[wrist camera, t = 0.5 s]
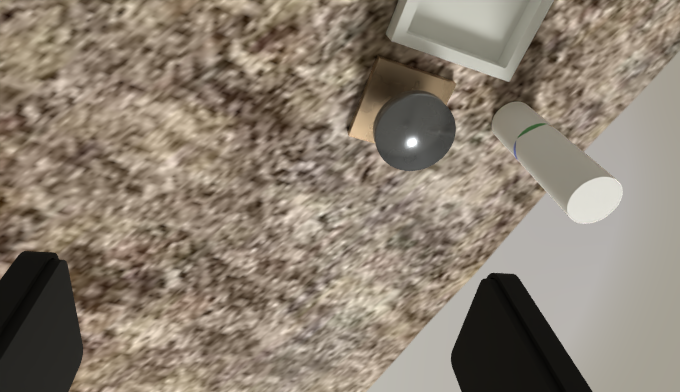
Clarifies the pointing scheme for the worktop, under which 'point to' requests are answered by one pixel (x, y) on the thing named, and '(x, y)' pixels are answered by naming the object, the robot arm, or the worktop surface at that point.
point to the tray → (470, 31)
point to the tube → (557, 164)
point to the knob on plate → (405, 115)
